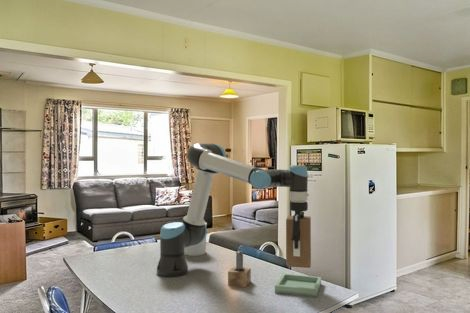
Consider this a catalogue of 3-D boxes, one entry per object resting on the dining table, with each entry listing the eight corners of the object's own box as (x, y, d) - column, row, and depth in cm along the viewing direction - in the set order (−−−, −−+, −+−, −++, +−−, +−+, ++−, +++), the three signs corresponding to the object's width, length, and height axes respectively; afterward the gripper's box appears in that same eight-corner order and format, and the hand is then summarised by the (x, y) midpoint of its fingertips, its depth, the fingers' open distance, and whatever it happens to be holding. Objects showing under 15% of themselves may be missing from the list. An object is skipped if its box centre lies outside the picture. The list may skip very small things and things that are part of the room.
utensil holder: (205, 256, 216) (205, 225, 216) (179, 256, 216) (179, 225, 216) (207, 249, 230) (207, 220, 231) (183, 249, 231) (183, 220, 231)
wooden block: (310, 268, 157) (310, 219, 157) (286, 266, 159) (286, 219, 159) (310, 261, 166) (310, 216, 167) (287, 260, 169) (287, 215, 169)
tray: (274, 292, 157) (274, 285, 157) (283, 280, 173) (283, 273, 173) (316, 297, 152) (316, 289, 152) (321, 284, 168) (321, 277, 168)
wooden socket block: (228, 285, 167) (228, 271, 167) (233, 279, 174) (233, 266, 174) (245, 287, 164) (245, 273, 164) (250, 281, 172) (250, 268, 172)
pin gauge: (235, 283, 168) (235, 252, 168) (237, 281, 171) (237, 250, 171) (241, 284, 167) (241, 252, 167) (243, 282, 170) (243, 251, 170)
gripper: (303, 204, 151) (303, 260, 151) (311, 198, 172) (311, 247, 172) (284, 203, 153) (285, 258, 153) (294, 198, 175) (294, 246, 175)
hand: (298, 252), depth 163 cm, fingers closed on wooden block, 10 cm apart
